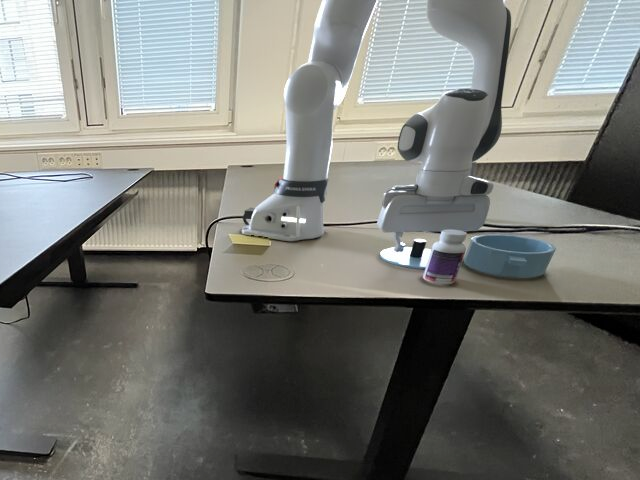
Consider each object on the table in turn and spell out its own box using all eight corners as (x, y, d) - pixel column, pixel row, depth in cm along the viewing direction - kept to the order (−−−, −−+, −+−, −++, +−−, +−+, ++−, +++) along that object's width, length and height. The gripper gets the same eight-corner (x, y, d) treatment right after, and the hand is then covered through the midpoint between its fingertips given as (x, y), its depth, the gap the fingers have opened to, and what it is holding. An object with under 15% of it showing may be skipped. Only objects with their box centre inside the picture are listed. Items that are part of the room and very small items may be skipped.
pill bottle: (458, 287, 78) (477, 236, 73) (427, 286, 79) (443, 235, 74) (447, 277, 82) (464, 228, 77) (418, 276, 83) (433, 228, 78)
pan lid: (377, 267, 89) (382, 246, 86) (381, 248, 99) (386, 229, 97) (453, 275, 83) (461, 253, 80) (449, 255, 93) (456, 235, 91)
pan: (467, 279, 81) (477, 253, 78) (460, 252, 95) (468, 229, 92) (553, 288, 75) (567, 261, 72) (532, 258, 89) (543, 234, 86)
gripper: (391, 188, 81) (376, 256, 89) (503, 184, 79) (477, 254, 86) (380, 183, 87) (366, 247, 94) (485, 179, 84) (462, 246, 91)
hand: (420, 251), depth 90 cm, fingers open, 8 cm apart
